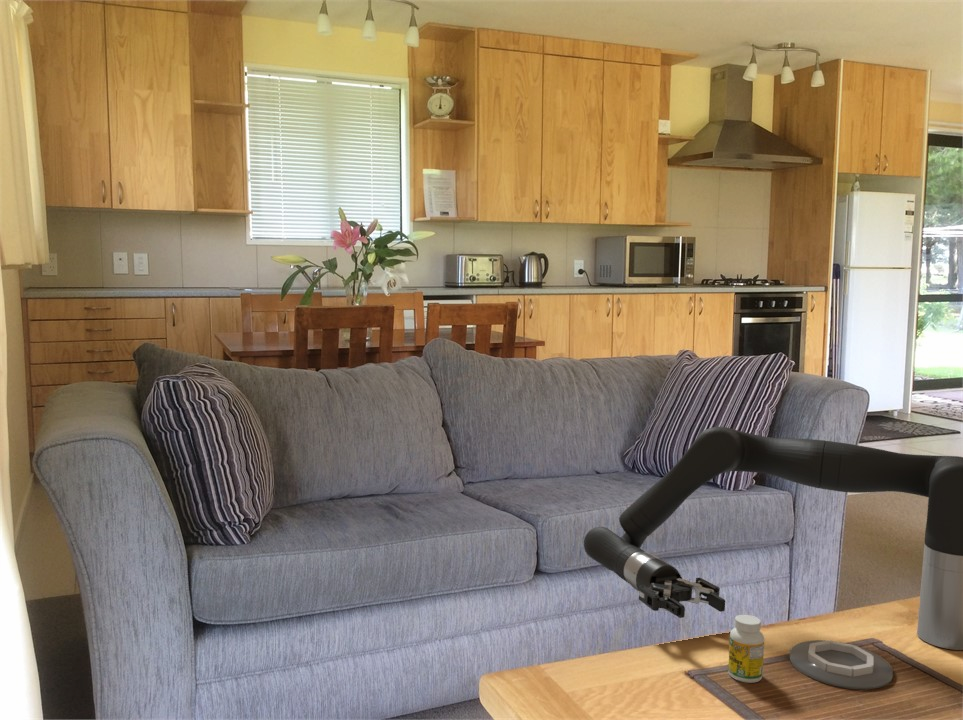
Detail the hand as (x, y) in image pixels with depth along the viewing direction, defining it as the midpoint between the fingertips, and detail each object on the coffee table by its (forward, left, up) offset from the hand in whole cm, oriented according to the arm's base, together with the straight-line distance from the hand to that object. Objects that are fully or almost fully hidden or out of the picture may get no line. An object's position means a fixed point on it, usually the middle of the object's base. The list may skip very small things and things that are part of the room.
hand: (703, 609), depth 148 cm
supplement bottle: (+8, +8, -7) cm, 13 cm away
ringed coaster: (-3, +22, -7) cm, 24 cm away
